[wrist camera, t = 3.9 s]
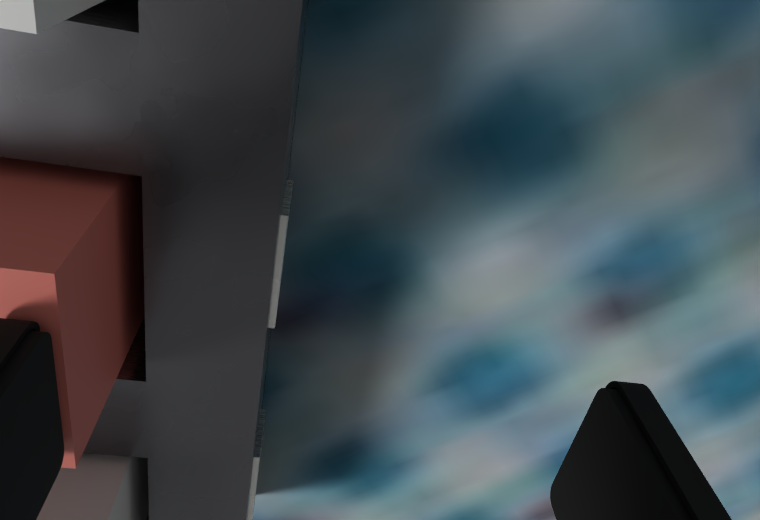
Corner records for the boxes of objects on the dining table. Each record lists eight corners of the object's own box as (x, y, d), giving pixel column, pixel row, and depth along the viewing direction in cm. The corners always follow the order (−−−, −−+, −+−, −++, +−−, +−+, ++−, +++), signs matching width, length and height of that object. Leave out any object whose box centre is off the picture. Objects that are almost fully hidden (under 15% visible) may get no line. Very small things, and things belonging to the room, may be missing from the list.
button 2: (-31, 102, 13) (-262, 238, 8) (158, 130, 14) (54, 273, 9) (-5, 264, 15) (-173, 451, 10) (159, 282, 16) (75, 468, 11)
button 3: (16, 357, 17) (-119, 554, 12) (161, 370, 18) (91, 564, 13) (32, 457, 19) (-76, 660, 14) (161, 466, 20) (101, 664, 15)
